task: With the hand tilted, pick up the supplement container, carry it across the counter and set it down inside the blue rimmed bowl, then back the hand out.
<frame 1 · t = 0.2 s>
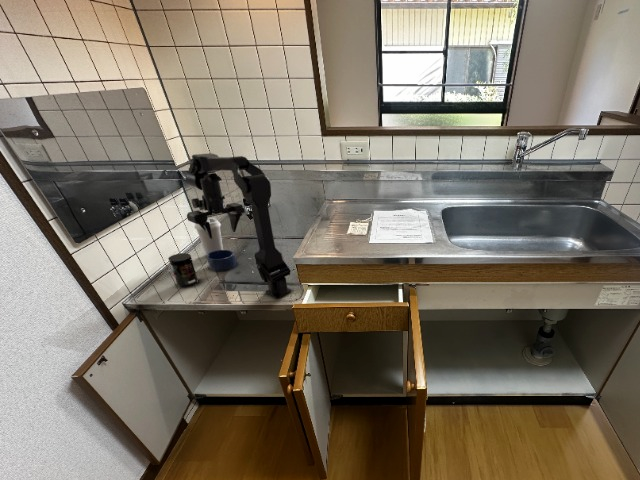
hand: (222, 235, 121), 15 cm above the table, tool pointing down, fingers open, 9 cm apart
coffee cup: (215, 255, 139), on the table
blue rimmed bowl: (223, 265, 131), on the table
supplement container: (188, 283, 118), on the table
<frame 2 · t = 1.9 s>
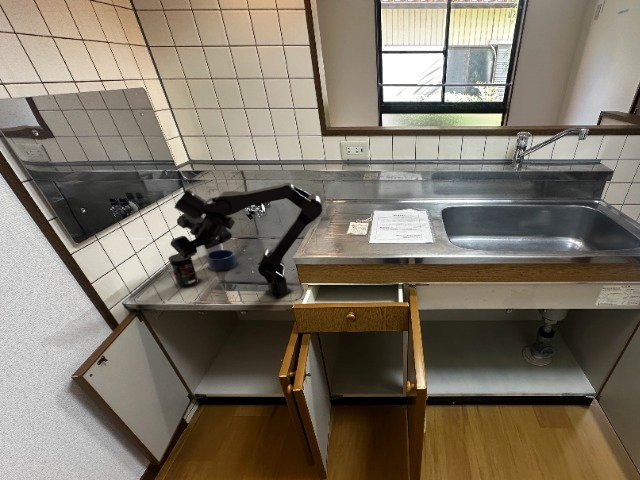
hand: (194, 252, 109), 13 cm above the table, tool tilted 45°, fingers open, 9 cm apart
nothing on the table moved.
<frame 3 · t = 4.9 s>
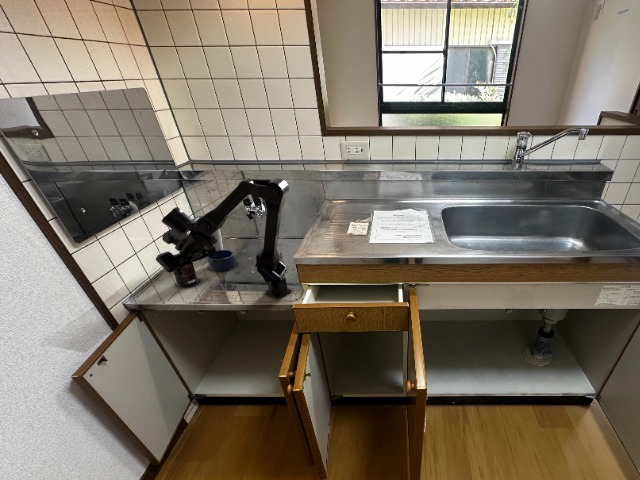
hand: (179, 266, 115), 7 cm above the table, tool tilted 45°, fingers closed on supplement container, 7 cm apart
supplement container: (188, 283, 118), on the table, touching gripper
everything else where it was.
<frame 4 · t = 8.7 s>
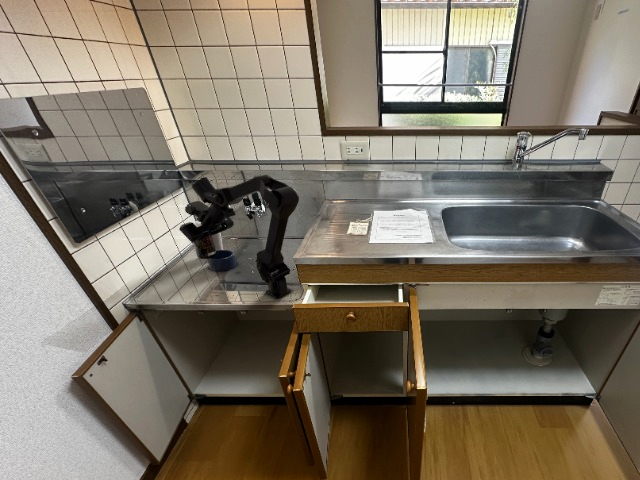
hand: (200, 239, 120), 13 cm above the table, tool tilted 45°, fingers closed on supplement container, 7 cm apart
supplement container: (207, 256, 123), point 6 cm above the table, touching gripper
everything else where it was.
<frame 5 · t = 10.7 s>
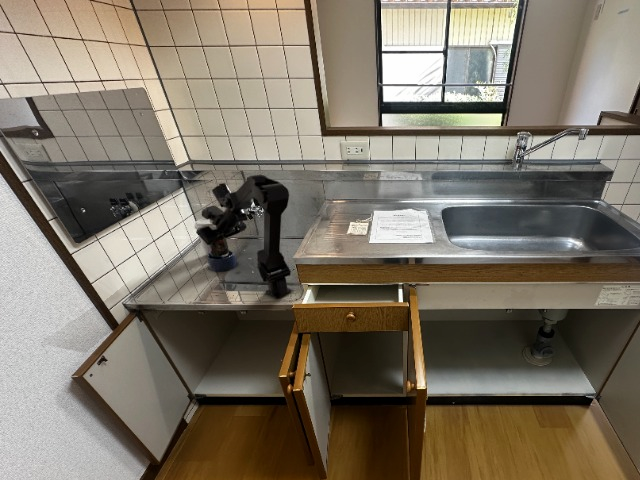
hand: (214, 241, 126), 10 cm above the table, tool tilted 45°, fingers closed on supplement container, 7 cm apart
supplement container: (221, 258, 129), point 4 cm above the table, touching gripper
everything else where it was.
when the fingers open (7 cm above the table, at t = 12.4 s): supplement container stays where it is, resting on blue rimmed bowl.
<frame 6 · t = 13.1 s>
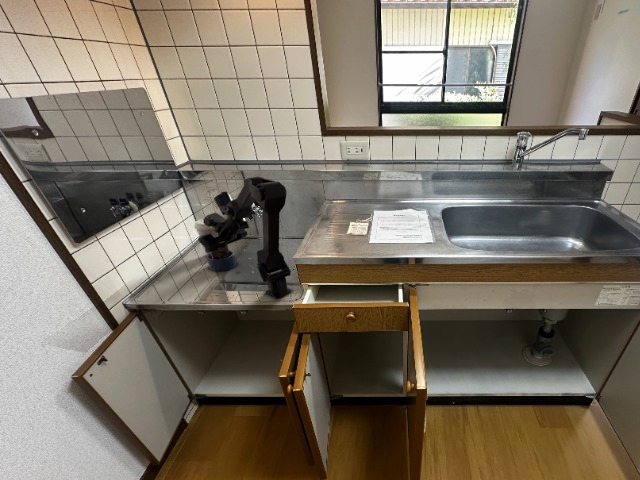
hand: (215, 247, 128), 8 cm above the table, tool tilted 45°, fingers open, 9 cm apart
supplement container: (222, 265, 131), resting on blue rimmed bowl
everything else where it was.
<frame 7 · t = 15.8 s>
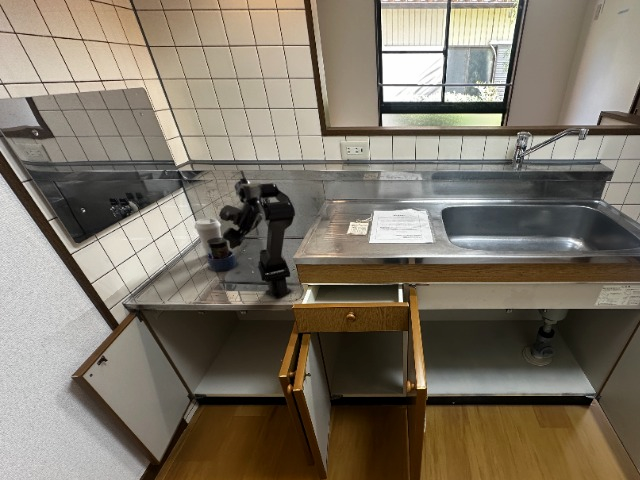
hand: (237, 241, 124), 12 cm above the table, tool tilted 35°, fingers open, 9 cm apart
nothing on the table moved.
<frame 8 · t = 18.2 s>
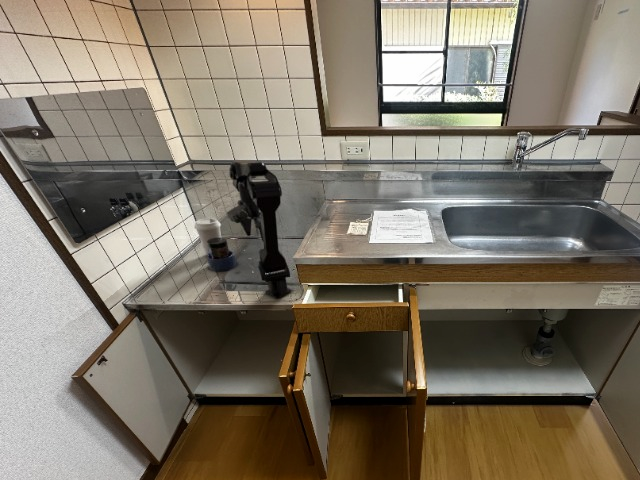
hand: (256, 238, 124), 13 cm above the table, tool pointing down, fingers open, 9 cm apart
nothing on the table moved.
at the end: supplement container 0.2 cm off-centre in the blue rimmed bowl, point 0.3 cm above the blue rimmed bowl's base; supplement container tilted 0°; the gripper is holding nothing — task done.
